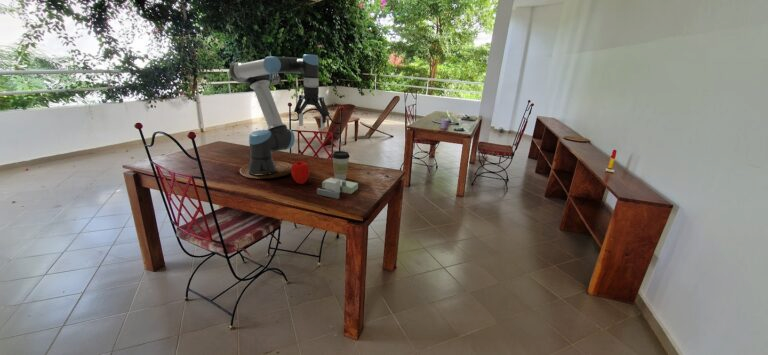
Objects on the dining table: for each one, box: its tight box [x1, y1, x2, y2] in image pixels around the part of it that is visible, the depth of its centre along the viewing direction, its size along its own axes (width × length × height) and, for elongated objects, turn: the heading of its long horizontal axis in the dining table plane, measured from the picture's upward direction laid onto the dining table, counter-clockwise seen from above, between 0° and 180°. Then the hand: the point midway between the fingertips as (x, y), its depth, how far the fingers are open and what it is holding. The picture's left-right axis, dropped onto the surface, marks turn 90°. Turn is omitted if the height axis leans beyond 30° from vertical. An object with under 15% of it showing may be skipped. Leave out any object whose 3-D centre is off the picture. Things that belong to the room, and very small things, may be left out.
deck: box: [316, 177, 359, 200], centre depth 169 cm, size 17×17×6 cm
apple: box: [290, 160, 311, 185], centre depth 176 cm, size 10×10×12 cm
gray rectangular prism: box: [324, 177, 341, 194], centre depth 166 cm, size 6×6×7 cm
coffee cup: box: [331, 150, 350, 181], centre depth 185 cm, size 10×10×15 cm
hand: (311, 127), depth 176 cm, fingers open, 13 cm apart
